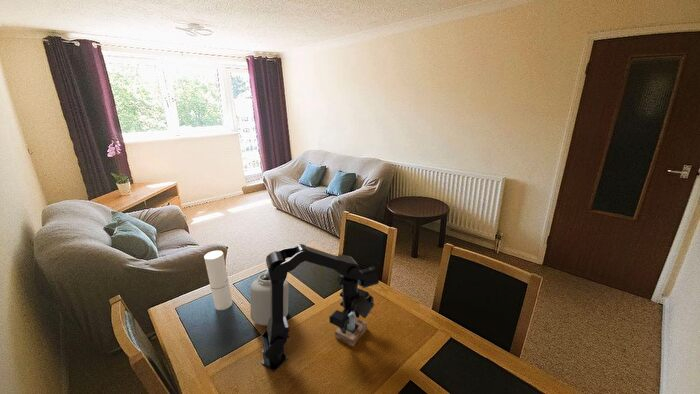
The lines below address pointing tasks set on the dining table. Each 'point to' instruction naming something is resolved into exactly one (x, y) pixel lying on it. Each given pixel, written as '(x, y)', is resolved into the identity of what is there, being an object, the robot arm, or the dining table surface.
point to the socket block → (352, 337)
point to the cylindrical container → (218, 279)
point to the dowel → (351, 323)
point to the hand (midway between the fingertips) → (351, 325)
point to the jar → (264, 299)
